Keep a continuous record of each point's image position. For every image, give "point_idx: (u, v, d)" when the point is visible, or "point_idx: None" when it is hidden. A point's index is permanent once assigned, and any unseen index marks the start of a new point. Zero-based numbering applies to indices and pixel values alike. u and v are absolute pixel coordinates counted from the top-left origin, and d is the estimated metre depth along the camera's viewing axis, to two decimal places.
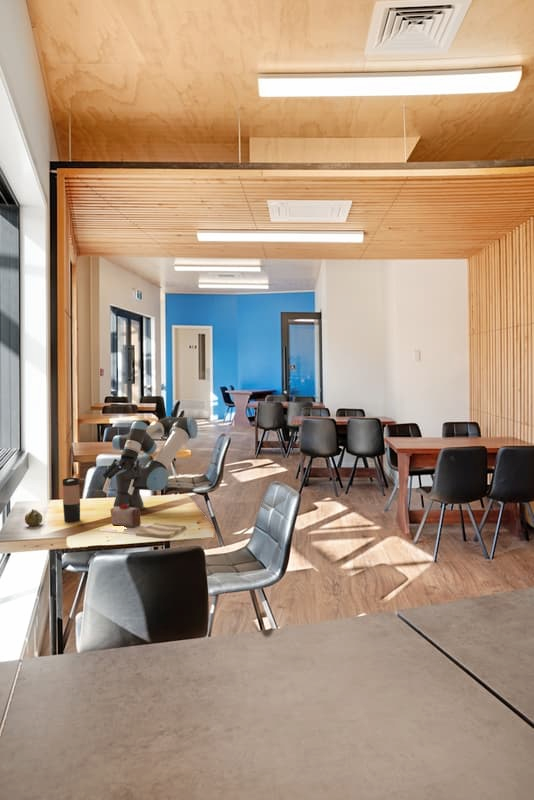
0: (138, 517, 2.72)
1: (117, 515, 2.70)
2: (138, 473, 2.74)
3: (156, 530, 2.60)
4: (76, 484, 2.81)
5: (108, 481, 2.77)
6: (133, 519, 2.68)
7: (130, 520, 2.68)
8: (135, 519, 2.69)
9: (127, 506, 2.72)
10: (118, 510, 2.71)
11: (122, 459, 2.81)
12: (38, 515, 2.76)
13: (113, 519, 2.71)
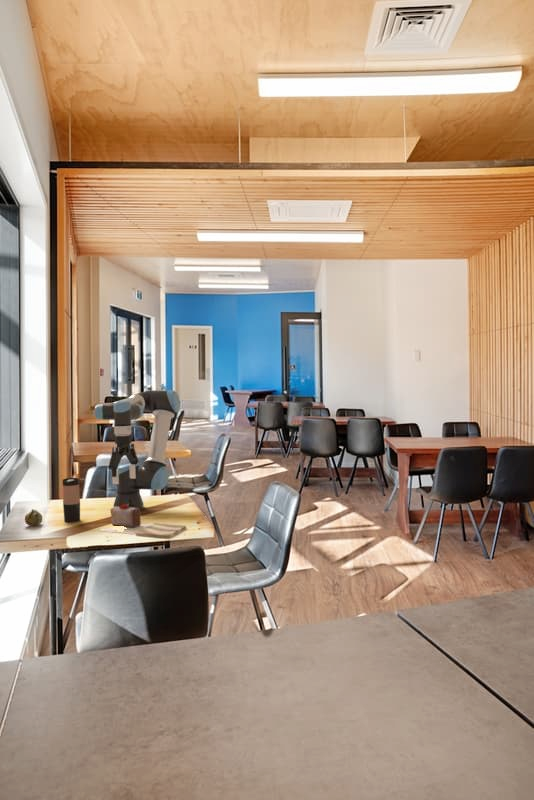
0: (138, 517, 2.72)
1: (117, 515, 2.70)
2: (136, 457, 2.79)
3: (156, 530, 2.60)
4: (76, 484, 2.81)
5: None
6: (133, 519, 2.68)
7: (130, 520, 2.68)
8: (135, 519, 2.69)
9: (127, 506, 2.72)
10: (118, 510, 2.71)
11: (122, 446, 2.68)
12: (38, 515, 2.76)
13: (113, 519, 2.71)
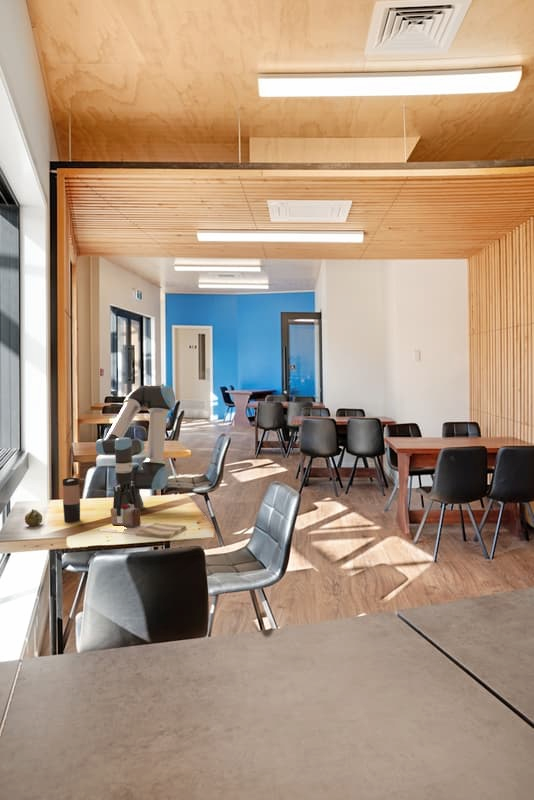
0: (138, 517, 2.72)
1: None
2: (135, 496, 2.79)
3: (156, 530, 2.60)
4: (76, 484, 2.81)
5: None
6: (133, 519, 2.68)
7: (130, 520, 2.68)
8: (135, 519, 2.69)
9: (127, 506, 2.72)
10: None
11: (123, 482, 2.69)
12: (38, 515, 2.76)
13: (113, 519, 2.71)
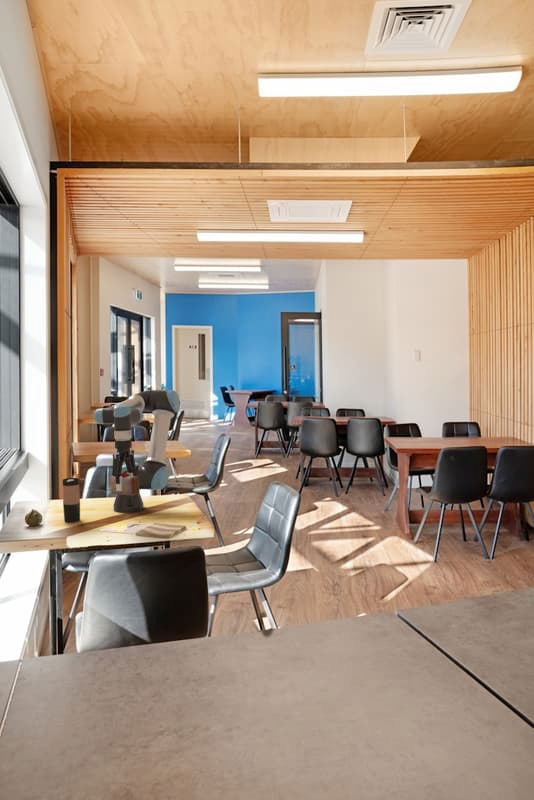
0: (137, 486, 2.71)
1: None
2: (134, 465, 2.78)
3: (156, 530, 2.60)
4: (76, 484, 2.81)
5: None
6: (132, 487, 2.67)
7: (129, 487, 2.67)
8: (134, 487, 2.68)
9: (126, 474, 2.71)
10: None
11: (122, 450, 2.68)
12: (38, 515, 2.76)
13: (112, 487, 2.71)
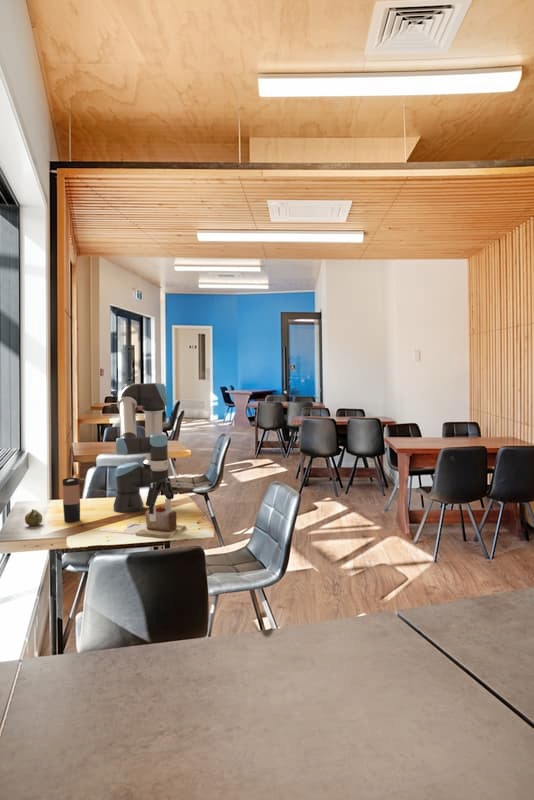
0: (174, 521, 2.61)
1: None
2: (172, 491, 2.69)
3: (156, 530, 2.60)
4: (76, 484, 2.81)
5: None
6: (170, 522, 2.57)
7: (167, 523, 2.57)
8: (171, 523, 2.58)
9: (163, 509, 2.61)
10: None
11: (159, 481, 2.58)
12: (38, 515, 2.76)
13: (148, 522, 2.60)
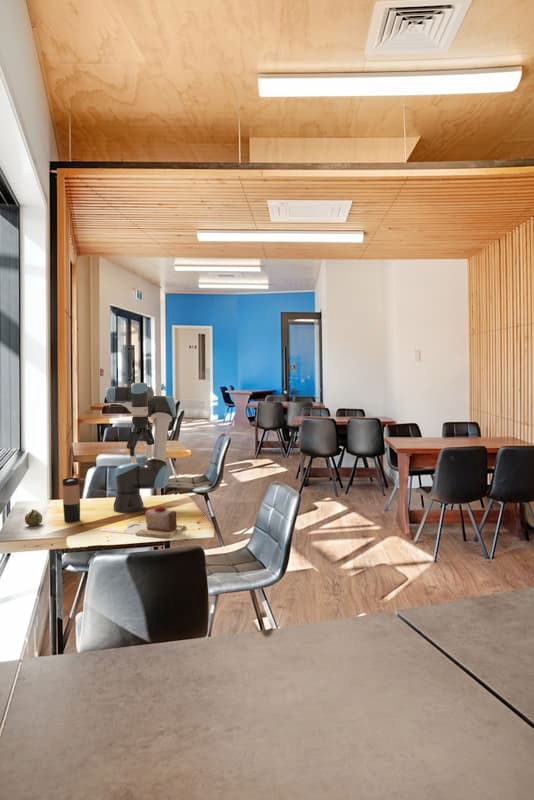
0: (174, 521, 2.61)
1: (152, 518, 2.59)
2: (152, 438, 2.87)
3: (156, 530, 2.60)
4: (76, 484, 2.81)
5: None
6: (170, 522, 2.57)
7: (167, 523, 2.57)
8: (171, 523, 2.58)
9: (163, 509, 2.61)
10: (154, 513, 2.60)
11: (139, 426, 2.76)
12: (38, 515, 2.76)
13: (148, 522, 2.60)
